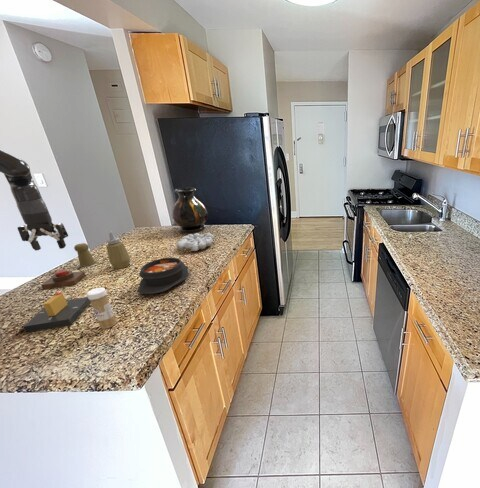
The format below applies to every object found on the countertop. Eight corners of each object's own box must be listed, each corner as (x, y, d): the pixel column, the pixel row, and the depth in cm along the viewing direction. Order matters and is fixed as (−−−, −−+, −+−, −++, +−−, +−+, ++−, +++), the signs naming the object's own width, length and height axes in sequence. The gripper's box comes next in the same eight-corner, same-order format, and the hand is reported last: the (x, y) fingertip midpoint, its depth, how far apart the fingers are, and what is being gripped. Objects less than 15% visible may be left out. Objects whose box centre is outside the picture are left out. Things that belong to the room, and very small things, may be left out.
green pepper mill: (94, 265, 129) (86, 245, 125) (78, 268, 126) (70, 247, 122) (97, 260, 134) (89, 241, 130) (81, 263, 131) (73, 243, 127)
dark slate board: (25, 332, 84) (22, 326, 83) (52, 308, 96) (49, 302, 95) (71, 325, 87) (68, 318, 86) (91, 302, 100) (88, 296, 99)
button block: (43, 289, 108) (39, 281, 107) (55, 279, 116) (52, 271, 115) (75, 285, 111) (72, 277, 110) (85, 275, 119) (82, 267, 118)
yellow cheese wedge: (55, 315, 88) (48, 302, 86) (48, 316, 88) (42, 303, 86) (67, 304, 94) (62, 292, 92) (61, 305, 94) (56, 292, 92)
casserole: (159, 269, 125) (154, 253, 122) (198, 268, 126) (195, 252, 123) (125, 298, 102) (119, 280, 99) (174, 297, 103) (169, 278, 100)
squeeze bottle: (107, 269, 125) (95, 234, 118) (123, 262, 132) (112, 228, 126) (120, 271, 123) (109, 235, 117) (136, 263, 131) (125, 229, 124)
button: (54, 277, 110) (53, 273, 110) (59, 273, 113) (58, 270, 113) (65, 276, 111) (63, 272, 111) (69, 272, 115) (68, 268, 114)
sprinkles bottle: (96, 329, 85) (82, 294, 80) (107, 320, 90) (94, 286, 84) (110, 329, 85) (96, 294, 80) (120, 320, 90) (108, 287, 84)
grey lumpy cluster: (172, 245, 153) (170, 235, 151) (208, 236, 166) (207, 228, 164) (182, 256, 138) (180, 246, 136) (221, 246, 151) (220, 237, 149)
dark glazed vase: (207, 233, 173) (199, 191, 162) (172, 236, 168) (161, 193, 157) (211, 223, 192) (205, 185, 182) (179, 226, 187) (171, 187, 176)
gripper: (3, 214, 96) (22, 254, 103) (48, 212, 99) (64, 250, 106) (20, 209, 103) (37, 247, 109) (62, 207, 106) (76, 244, 112)
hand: (50, 248), depth 107 cm, fingers open, 8 cm apart
